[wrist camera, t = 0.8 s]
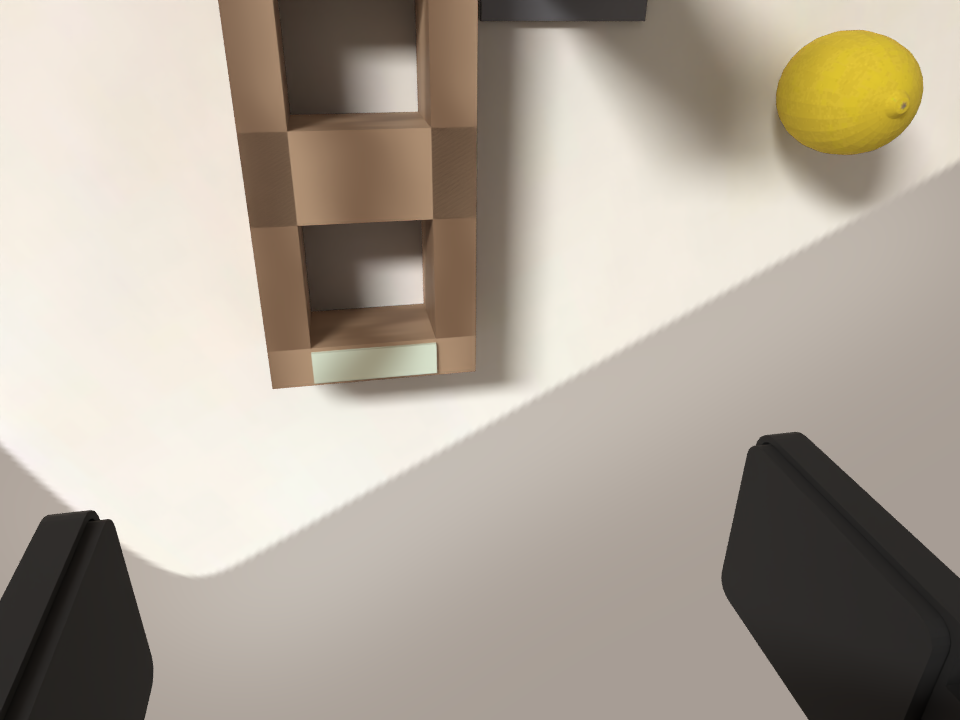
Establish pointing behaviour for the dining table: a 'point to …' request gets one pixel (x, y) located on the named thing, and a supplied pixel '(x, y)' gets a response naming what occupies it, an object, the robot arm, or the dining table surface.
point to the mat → (563, 10)
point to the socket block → (360, 199)
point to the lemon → (849, 92)
